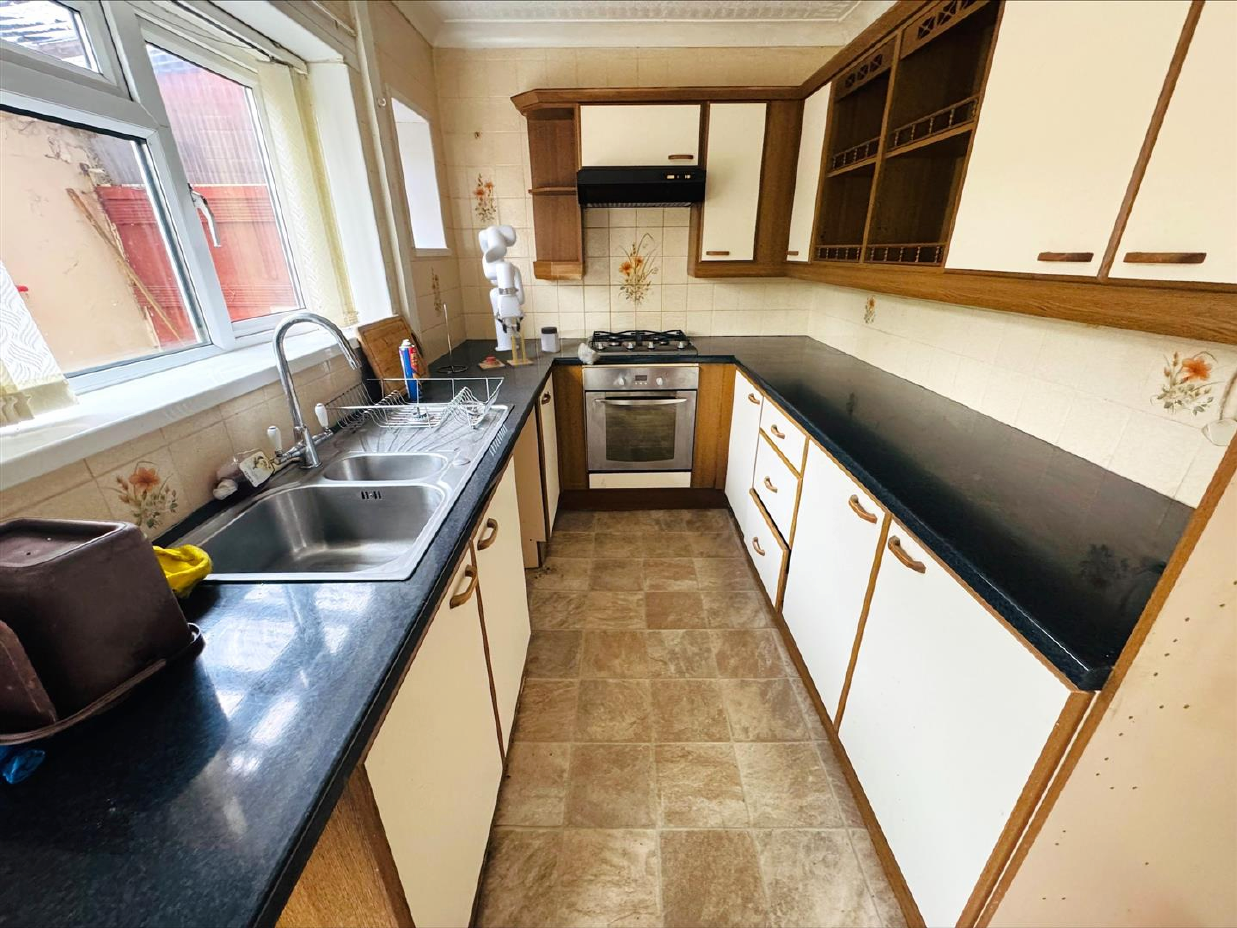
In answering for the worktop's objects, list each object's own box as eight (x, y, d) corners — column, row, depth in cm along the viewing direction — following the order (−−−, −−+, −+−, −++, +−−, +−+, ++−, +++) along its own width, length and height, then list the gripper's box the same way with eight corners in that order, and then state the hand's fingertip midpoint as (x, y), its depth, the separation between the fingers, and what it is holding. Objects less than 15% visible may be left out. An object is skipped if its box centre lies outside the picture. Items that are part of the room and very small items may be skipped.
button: (485, 361, 233) (485, 357, 232) (494, 360, 235) (494, 356, 234) (487, 363, 230) (487, 359, 229) (496, 361, 231) (496, 358, 231)
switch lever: (505, 328, 239) (505, 323, 237) (516, 327, 241) (516, 322, 239) (512, 342, 232) (512, 338, 230) (523, 341, 233) (523, 337, 232)
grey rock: (582, 363, 243) (565, 348, 230) (592, 351, 242) (575, 335, 230) (602, 378, 234) (585, 363, 222) (612, 365, 234) (596, 349, 221)
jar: (548, 349, 268) (545, 326, 264) (561, 350, 266) (560, 326, 261) (539, 353, 261) (537, 329, 256) (554, 353, 258) (552, 329, 253)
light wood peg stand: (506, 363, 240) (502, 333, 235) (527, 360, 244) (523, 331, 239) (512, 367, 230) (509, 337, 225) (534, 365, 234) (531, 334, 229)
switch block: (478, 366, 236) (477, 359, 235) (499, 363, 240) (499, 357, 239) (483, 371, 226) (482, 364, 225) (505, 368, 230) (505, 361, 229)
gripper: (523, 290, 239) (527, 329, 246) (486, 292, 232) (492, 333, 239) (527, 291, 232) (531, 331, 240) (490, 293, 226) (495, 335, 233)
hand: (511, 331), depth 239 cm, fingers open, 5 cm apart
